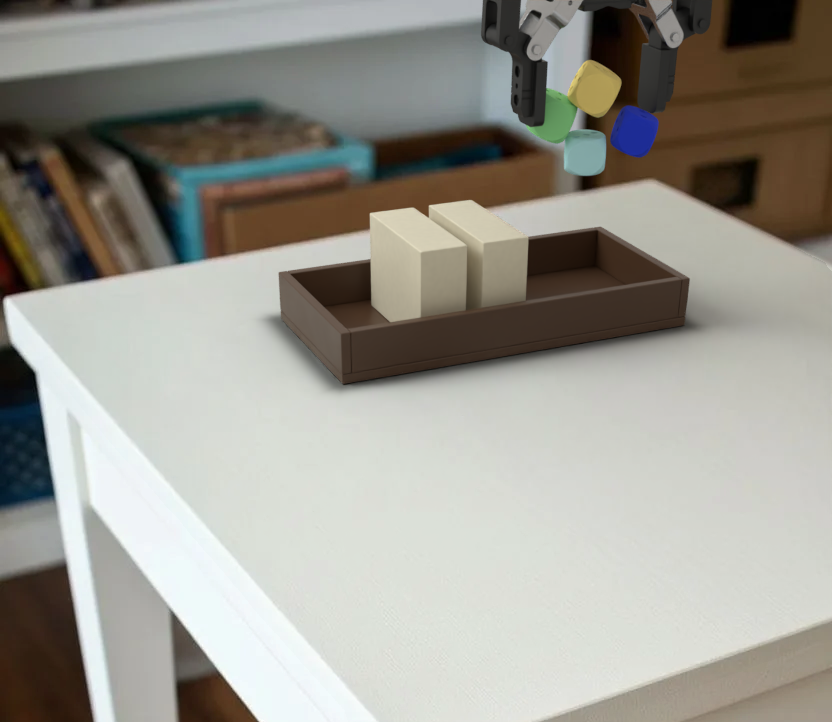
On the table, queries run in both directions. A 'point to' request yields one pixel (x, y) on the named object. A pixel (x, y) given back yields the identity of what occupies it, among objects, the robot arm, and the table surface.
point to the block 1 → (415, 266)
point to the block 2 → (486, 253)
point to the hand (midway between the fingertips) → (591, 117)
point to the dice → (594, 97)
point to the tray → (487, 309)
